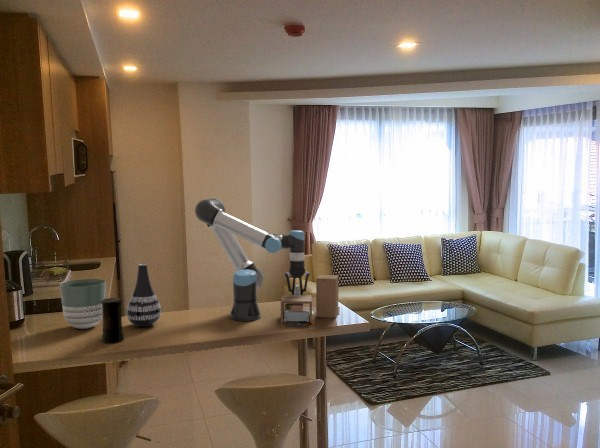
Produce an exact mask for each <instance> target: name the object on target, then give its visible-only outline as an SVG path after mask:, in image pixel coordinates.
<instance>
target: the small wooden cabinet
mask: <svg viewBox="0 0 600 448" xmlns="http://www.w3.org/2000/svg"><path fill="white" fill-rule="evenodd" d="M295 292H296V295H299V292H300V284H295ZM287 322H306V323H310V310H303V312H291V310H284V320H283V323H287Z"/></svg>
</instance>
